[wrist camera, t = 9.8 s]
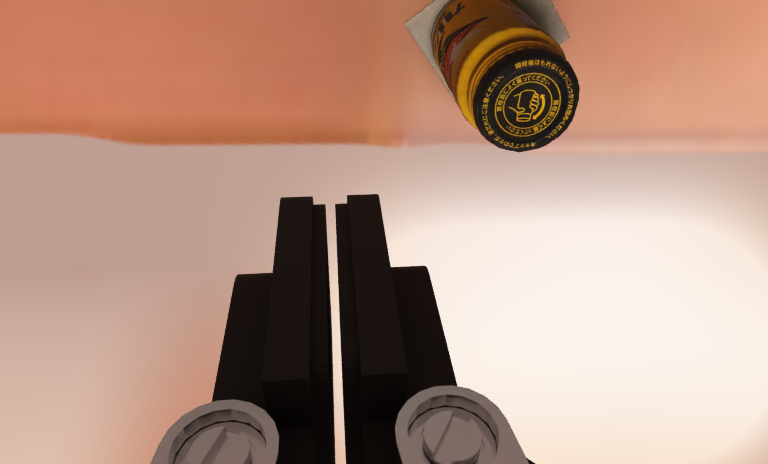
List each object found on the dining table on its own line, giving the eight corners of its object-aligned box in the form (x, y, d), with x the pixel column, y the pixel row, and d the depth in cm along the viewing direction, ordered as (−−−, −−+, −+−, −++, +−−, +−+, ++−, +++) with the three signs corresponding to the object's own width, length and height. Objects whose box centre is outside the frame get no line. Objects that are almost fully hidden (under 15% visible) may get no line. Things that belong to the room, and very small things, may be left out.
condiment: (403, 23, 36) (434, 93, 27) (519, -63, 34) (599, -21, 24) (460, 108, 40) (505, 196, 30) (568, 35, 38) (654, 106, 28)
